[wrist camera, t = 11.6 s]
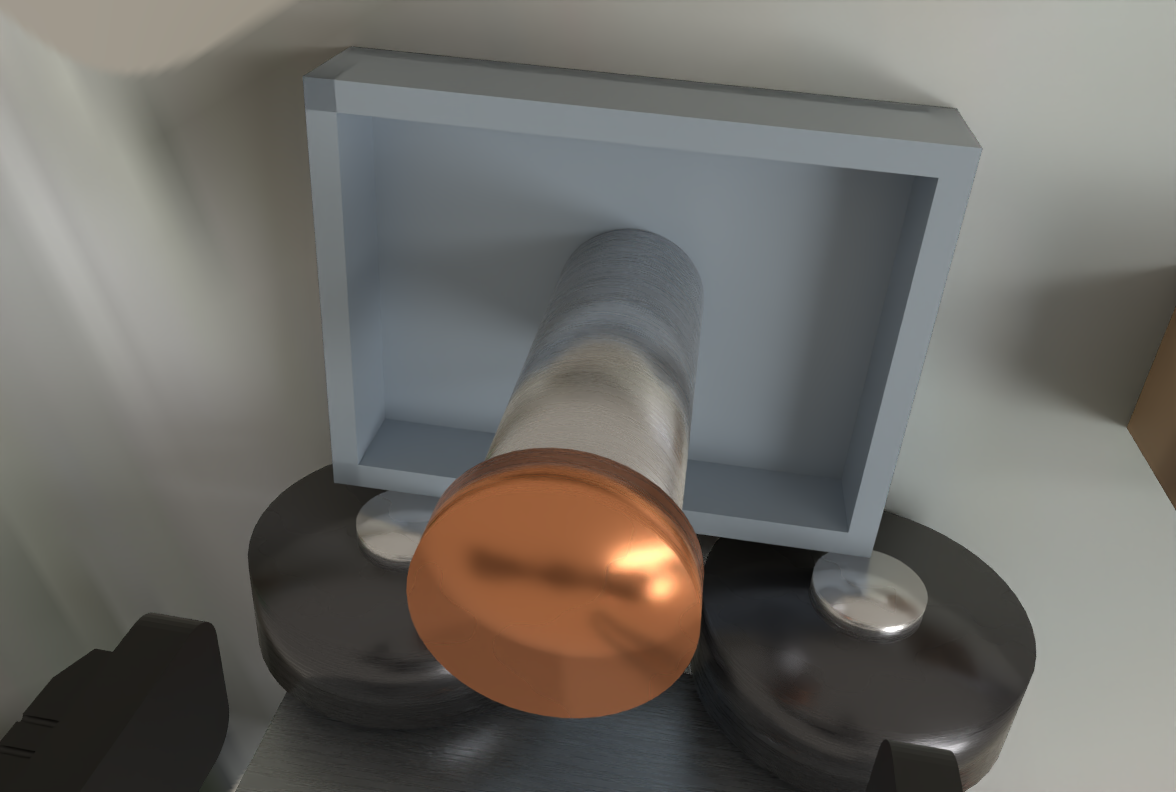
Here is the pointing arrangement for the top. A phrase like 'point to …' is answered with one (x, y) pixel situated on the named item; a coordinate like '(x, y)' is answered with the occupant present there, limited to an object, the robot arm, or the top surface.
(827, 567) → the trolley
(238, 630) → the top surface
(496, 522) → the pin
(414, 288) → the tray
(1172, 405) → the block
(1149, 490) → the top surface
